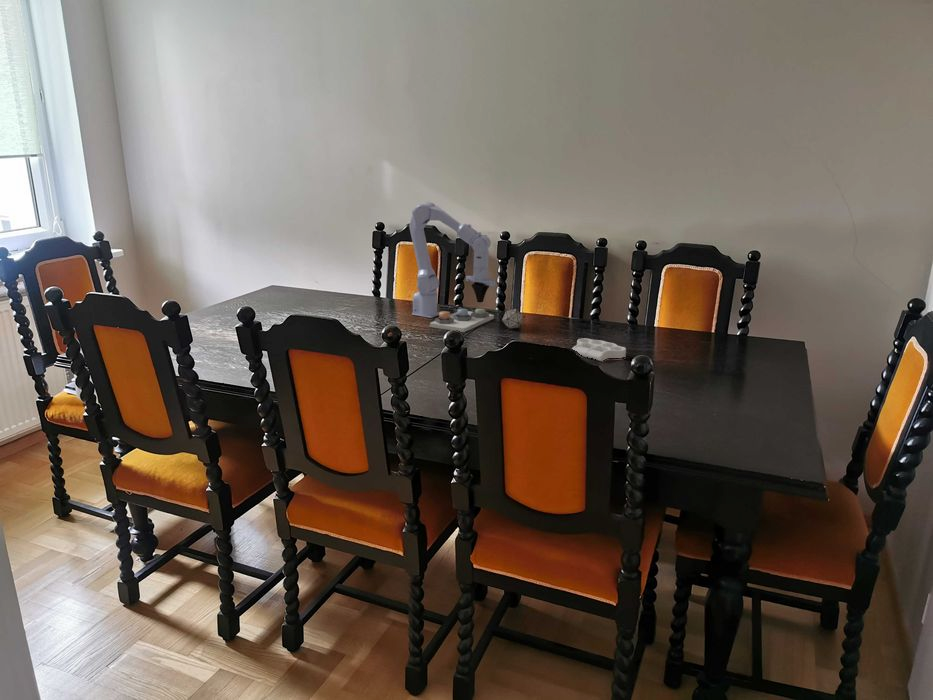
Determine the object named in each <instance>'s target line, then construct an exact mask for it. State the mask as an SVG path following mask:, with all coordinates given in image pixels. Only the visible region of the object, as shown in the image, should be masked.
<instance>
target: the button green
mask: <svg viewBox="0 0 933 700" xmlns="http://www.w3.org/2000/svg"><path fill="white" fill-rule="evenodd" d="M474 312H475V314H476V315H484V314H485V312H486V308H476V309H474Z"/></svg>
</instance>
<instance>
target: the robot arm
mask: <svg viewBox="0 0 933 700" xmlns="http://www.w3.org/2000/svg"><path fill="white" fill-rule="evenodd" d="M430 221H438V222H441V223H442V224H444V225H445V226H447V227H448V228H450V229H452V230H454V232H456V235H457V237H458V238H459V239H461V240H462V241H464V242H465V243H466V244H468V245H469V246H471V247H472V250H473V273H472V275H466V277H465V281H466V282H471V283H472V284H471V287H472V289H473V292H474V294H475V299H476V302H477V303H483V302H484V301H485V300H484V299H485V297H486V293H487V291H488V289H489V288H490V287H491V288H492V287H493V288H494V287H496V285H497V284H496V281H495V280H492V279H490V278H489V264H490V263H489V259H490V257H489V254H490V253H489V248H490V247H491V239H490V238H489V237H488V235H486V234H482V232H480V231H477V230H475V229H474V228H473V227H472V224H470V223H469V224H467V223H463V224H462V223H460V222H458V221H457V220H456V219H455V218H454V217H453V216H451V215H450V214H448V213H447V212H446V211H445V210H443V209H442V208H441V207H440V206H439V205H435V203H433V202H425V203H421V204H417V205H416V206H415V207H414V209H412V213H411V219H410V221H409V232H410V236H411V237H410V238H411V241H412V247H413V250H414V255H415V259H416V265H417V268H418V271H417V277H416V278H417V284H416V289H417V291H416V292H415V293H414V295H413V296H412V313H411V316H416V317H424V318H429V319H431V318H432V319H433V318H435V317H437V316H438V317H439V312H440V311H439V312H438V290H437V289H438V288H439V286H440V280H439V278H438V277H437V275H436V272H435V269H433V267H432V263H431V258H430V254H429V253H430V252H429V248H428V244H427V238H426V234H425V230H424V228H425V227H426V226H427V224H428V223H429V222H430Z"/></svg>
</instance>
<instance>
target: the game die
mask: <svg viewBox="0 0 933 700" xmlns="http://www.w3.org/2000/svg"><path fill="white" fill-rule="evenodd" d="M504 310H505V312H504V314H503V317H502V319H501V320H499V322H502V323H503V324H504V325H505V326H506V327H507V328H508V331H510V330H511V329H517V328H518V329H519V330H521V323H522V322H523V319H524V318H526V315H524V316H523V314H521V312H520V311H519V310H518V307H517V306H516V307H515V308H512V309H507V308H504Z"/></svg>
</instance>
